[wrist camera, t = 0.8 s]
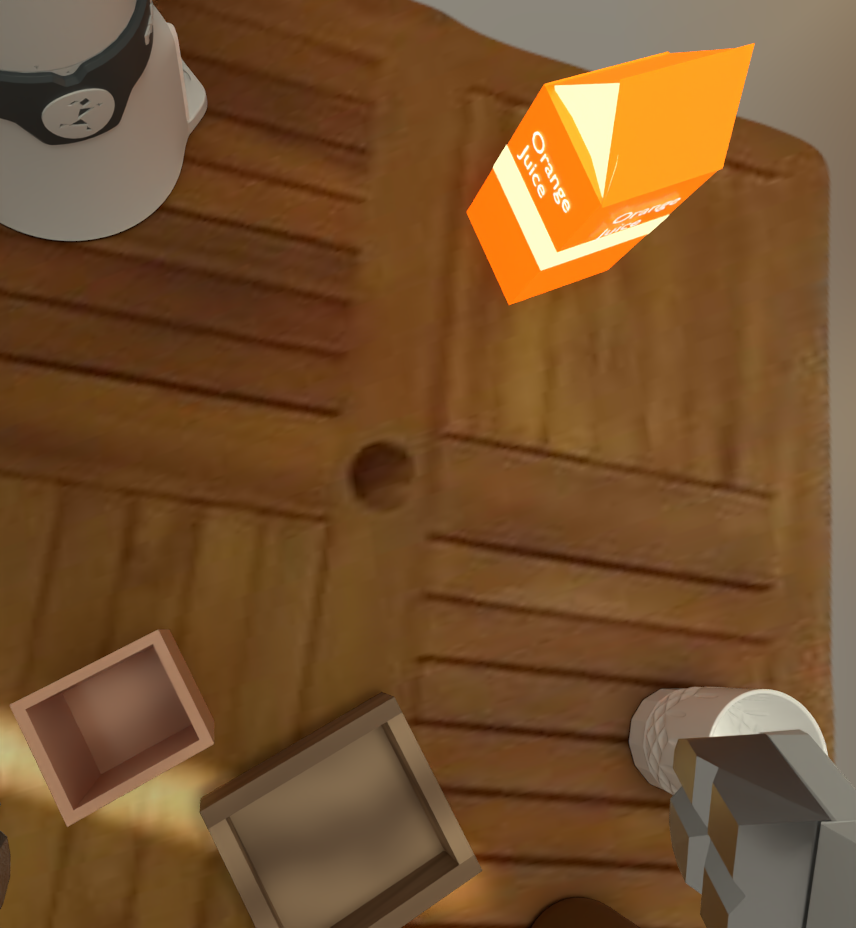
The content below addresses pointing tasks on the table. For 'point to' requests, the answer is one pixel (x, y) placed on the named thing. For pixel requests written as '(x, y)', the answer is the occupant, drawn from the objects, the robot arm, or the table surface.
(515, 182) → the orange juice
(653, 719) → the white cup
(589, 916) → the mug
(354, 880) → the large crate
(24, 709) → the pink square pot
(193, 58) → the table surface
